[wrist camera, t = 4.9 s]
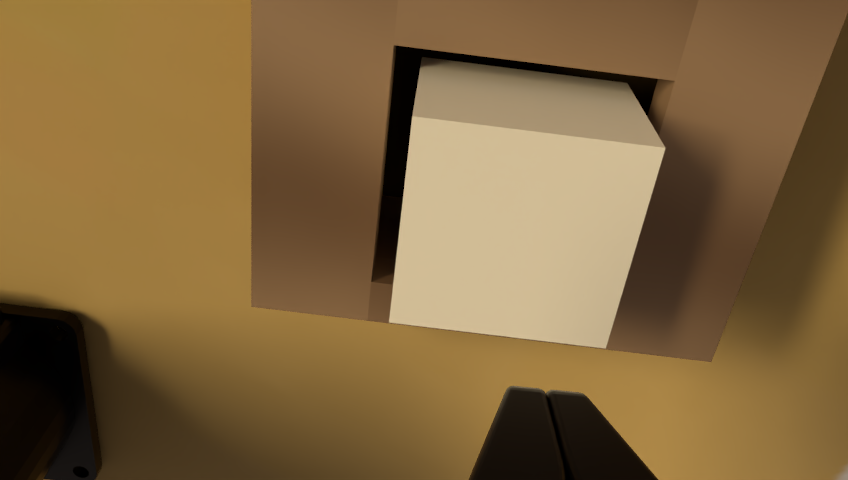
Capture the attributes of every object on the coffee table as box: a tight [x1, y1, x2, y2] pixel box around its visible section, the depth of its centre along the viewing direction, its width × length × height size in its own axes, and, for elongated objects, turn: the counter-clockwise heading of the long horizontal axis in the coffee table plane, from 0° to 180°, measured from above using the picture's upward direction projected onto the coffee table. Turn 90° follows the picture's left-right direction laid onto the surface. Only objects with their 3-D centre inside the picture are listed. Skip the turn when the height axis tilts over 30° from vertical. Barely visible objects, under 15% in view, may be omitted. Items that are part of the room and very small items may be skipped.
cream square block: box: [389, 57, 665, 349], centre depth 14 cm, size 4×4×3 cm
